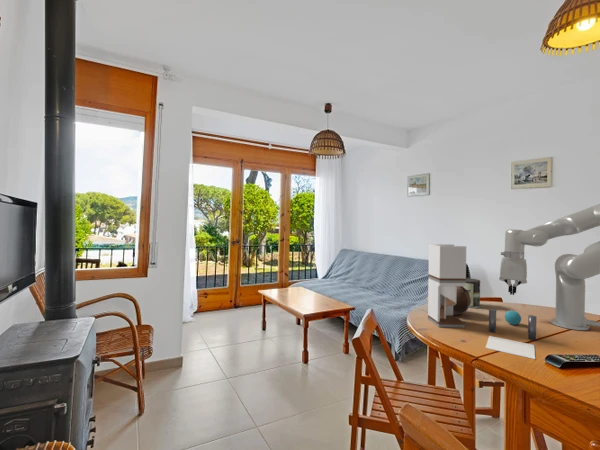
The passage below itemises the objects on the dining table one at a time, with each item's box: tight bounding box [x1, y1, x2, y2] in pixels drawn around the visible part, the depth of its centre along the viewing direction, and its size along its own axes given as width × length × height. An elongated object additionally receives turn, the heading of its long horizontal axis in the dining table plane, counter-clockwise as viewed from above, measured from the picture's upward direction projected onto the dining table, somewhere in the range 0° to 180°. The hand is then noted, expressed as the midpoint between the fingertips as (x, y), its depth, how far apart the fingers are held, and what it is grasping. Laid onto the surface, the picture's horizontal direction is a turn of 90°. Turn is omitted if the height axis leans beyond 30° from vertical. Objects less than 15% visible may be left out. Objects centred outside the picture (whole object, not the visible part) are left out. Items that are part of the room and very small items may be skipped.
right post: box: [527, 314, 538, 341], centre depth 115 cm, size 2×2×9 cm
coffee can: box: [462, 277, 481, 309], centre depth 161 cm, size 10×10×14 cm
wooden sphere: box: [453, 286, 471, 316], centre depth 146 cm, size 15×15×15 cm
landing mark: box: [485, 335, 536, 360], centre depth 108 cm, size 14×14×1 cm
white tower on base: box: [427, 243, 467, 328], centre depth 132 cm, size 11×11×35 cm
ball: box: [504, 310, 522, 326], centre depth 131 cm, size 6×6×6 cm
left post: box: [488, 308, 497, 333], centre depth 123 cm, size 2×2×9 cm
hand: (512, 294), depth 140 cm, fingers closed
